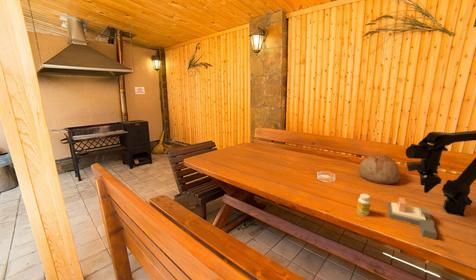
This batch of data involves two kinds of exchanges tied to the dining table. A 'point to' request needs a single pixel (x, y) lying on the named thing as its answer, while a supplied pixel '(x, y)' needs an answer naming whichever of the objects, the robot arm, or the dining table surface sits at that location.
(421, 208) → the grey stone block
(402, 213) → the cover
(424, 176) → the robot arm
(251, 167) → the dining table surface
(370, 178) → the bread
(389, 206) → the case
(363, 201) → the supplement bottle
